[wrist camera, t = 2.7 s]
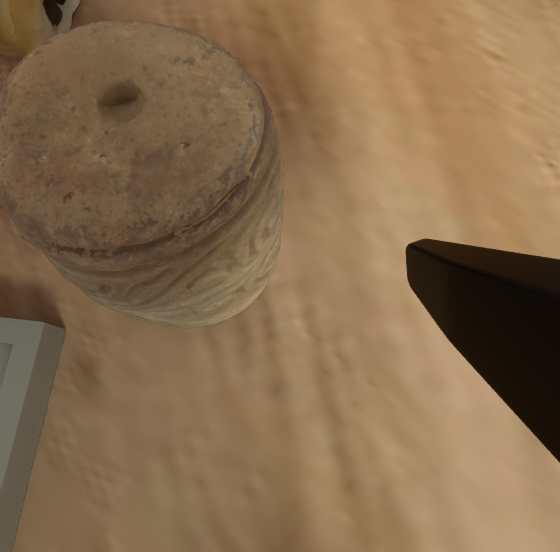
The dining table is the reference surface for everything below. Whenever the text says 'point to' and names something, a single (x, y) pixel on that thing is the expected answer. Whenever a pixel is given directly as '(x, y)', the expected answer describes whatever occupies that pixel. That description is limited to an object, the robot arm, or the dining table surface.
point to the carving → (144, 170)
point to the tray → (22, 409)
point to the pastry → (32, 24)
